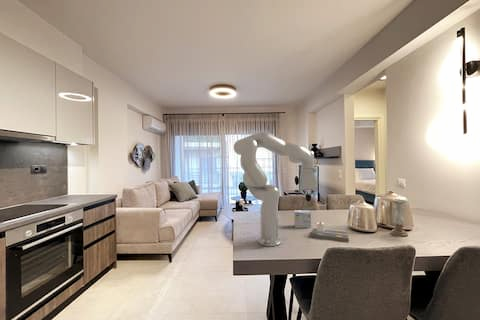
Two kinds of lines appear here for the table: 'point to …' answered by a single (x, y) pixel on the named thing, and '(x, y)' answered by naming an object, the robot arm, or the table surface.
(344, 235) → the switch board
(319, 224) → the switch tab
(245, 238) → the table surface
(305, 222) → the light bulb box
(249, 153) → the robot arm
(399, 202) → the candle holder
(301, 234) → the table surface
